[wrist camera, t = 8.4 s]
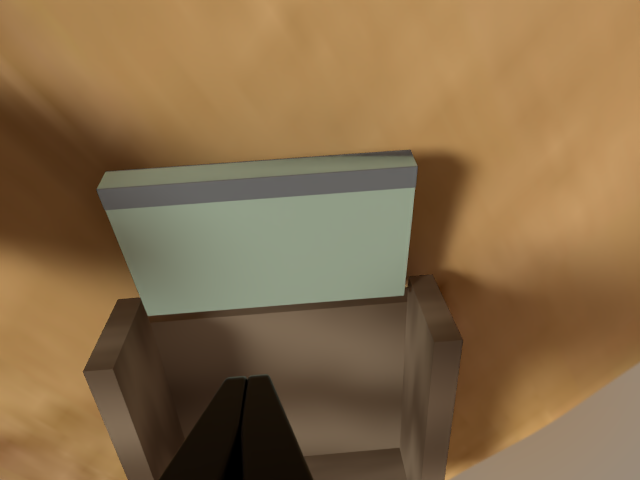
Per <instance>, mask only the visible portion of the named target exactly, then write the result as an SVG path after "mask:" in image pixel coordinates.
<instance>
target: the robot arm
mask: <svg viewBox="0 0 640 480" xmlns="http://www.w3.org/2000/svg"><path fill="white" fill-rule="evenodd" d="M158 480H314V479H313V477H312V475H311V472H310V470H309V468H308V465H307V463H306V460H305V458H304V456H303V453H302V451H301V449H300V446H299V444H298V442H297V439H296V437H295V434H294V432H293V430H292V427H291V425H290V423H289V420H288V418H287V416H286V413H285V411H284V408H283V406H282V404H281V401H280V399H279V397H278V394H277V392H276V390H275V387H274V385H273V382H272V380H271V378H270V376H269V375H267V374H263V375H251V376H249V378H247V377H245V376H239V377H228V378H226V379H225V380H224V381H223V383H222V384H221V386H220V387H219V389H218V390H217V392H216V393H215V395H214V397H213V398H212V400H211V401H210V403H209V404H208V406H207V407H206V409H205V410H204V412H203V413H202V415H201V416H200V418H199V419H198V421H197V422H196V424H195V425H194V427H193V428H192V430H191V431H190V433H189V434H188V436H187V437H186V439H185V440H184V442H183V443H182V445H181V446H180V448H179V449H178V451H177V452H176V454H175V455H174V457H173V458H172V460H171V461H170V463H169V464H168V466H167V467H166V469H165V470H164V472H163V473H162V475H161V476H160V478H159V479H158Z"/></svg>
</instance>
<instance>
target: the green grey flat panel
mask: <svg viewBox="0 0 640 480" xmlns="http://www.w3.org/2000/svg"><path fill="white" fill-rule="evenodd" d="M417 170H418V166H417V164H416V161H415V159H414V157H413V154H412V152H411V150H400V151H386V152H372V153H358V154H343V155H329V156H315V157H301V158H287V159H273V160H259V161H245V162H231V163H217V164H203V165H188V166H174V167H160V168H146V169H132V170H118V171H106V172H105V174H104V176H103V178H102V180H101V182H100V184H99V186H98V187H97V189H96V190H97V193H98V195H99V198H100V200H101V203H102V205H103V208H104V210H105V211H106V213H107V216H108V218H109V221H110V223H111V226H112V228H113V231H114V233H115V236H116V238H117V241H118V243H119V246H120V248H121V250H122V253H123V255H124V258H125V260H126V263H127V265H128V268H129V270H130V273H131V275H132V278H133V280H134V283H135V285H136V288H137V290H138V293H139V295H140V298H141V300H142V303H143V305H144V308H145V310H146V313H147V315H148V316H154V315H166V314H179V313H191V312H204V311H216V310H229V309H241V308H254V307H266V306H279V305H291V304H304V303H316V302H329V301H341V300H354V299H366V298H378V297H391V296H403V295H404V290H405V281H406V271H407V262H408V252H409V242H410V233H411V223H412V214H413V204H414V194H415V188H416V179H417Z"/></svg>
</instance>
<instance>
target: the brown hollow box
mask: <svg viewBox="0 0 640 480" xmlns="http://www.w3.org/2000/svg"><path fill="white" fill-rule="evenodd" d="M462 344H463V339H462V337H461V335H460V332H459V330H458V328H457V326H456V324H455V322H454V320H453V317H452V315H451V313H450V311H449V309H448V307H447V305H446V303H445V300H444V298H443V296H442V294H441V292H440V290H439V288H438V285H437V283H436V281H435V279H434V277H433V275H419V276H409V278H408V288H405V290H404V295H403V296H391V297H378V298H366V299H354V300H341V301H329V302H316V303H304V304H291V305H279V306H266V307H254V308H241V309H229V310H216V311H204V312H191V313H179V314H166V315H154V316H148V315H147V313H146V310H145V308H144V305H143V303H142V300H141V298H128V299H118V300H117V302H116V305H115V307H114V309H113V311H112V313H111V315H110V317H109V319H108V321H107V323H106V325H105V327H104V329H103V331H102V333H101V335H100V337H99V339H98V342H97V344H96V346H95V348H94V350H93V352H92V354H91V356H90V358H89V360H88V362H87V364H86V366H85V368H84V370H83V373H84V376H85V378H86V380H87V383H88V385H89V388H90V390H91V392H92V395H93V397H94V400H95V402H96V404H97V407H98V409H99V412H100V414H101V416H102V419H103V421H104V424H105V426H106V428H107V431H108V433H109V436H110V438H111V440H112V443H113V445H114V448H115V450H116V452H117V455H118V457H119V459H120V462H121V464H122V467H123V469H124V471H125V474H126V476H127V479H128V480H158V479H159V478H160V476H161V475H162V473H163V472H164V470H165V469H166V467H167V466H168V464H169V463H170V461H171V460H172V458H173V457H174V455H175V454H176V452H177V451H178V449H179V448H180V446H181V445H182V443H183V442H184V440H185V439H186V437H187V436H188V434H189V433H190V431H191V430H192V428H193V427H194V425H195V424H196V422H197V421H198V419H199V418H200V416H201V415H202V413H203V412H204V410H205V409H206V407H207V406H208V404H209V403H210V401H211V400H212V398H213V397H214V395H215V393H216V392H217V390H218V389H219V387H220V386H221V384H222V383H223V381H224V380H225V379H226V378H228V377H239V376H245V377H247V378H249V376H251V375H263V374H267V375H269V376H270V378H271V380H272V382H273V385H274V387H275V390H276V392H277V394H278V397H279V399H280V401H281V404H282V406H283V408H284V411H285V413H286V416H287V418H288V420H289V423H290V425H291V427H292V430H293V432H294V434H295V437H296V439H297V442H298V444H299V446H300V449H301V451H302V453H303V456H304V458H305V460H306V463H307V465H308V468H309V470H310V472H311V475H312V477H313V479H314V480H444V479H445V471H446V464H447V456H448V449H449V441H450V434H451V426H452V419H453V411H454V404H455V396H456V389H457V382H458V374H459V367H460V359H461V352H462Z"/></svg>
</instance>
